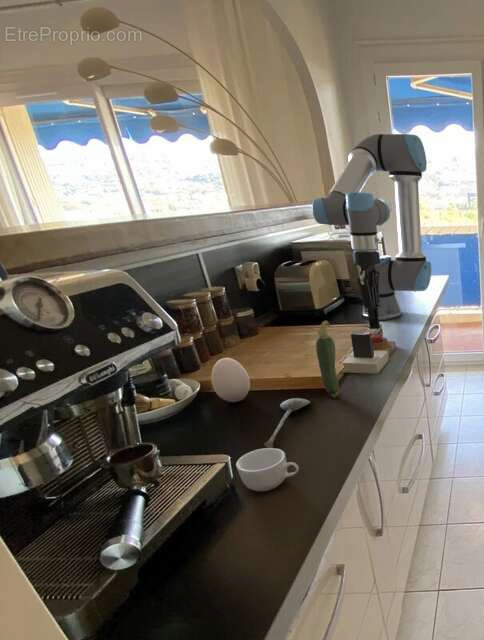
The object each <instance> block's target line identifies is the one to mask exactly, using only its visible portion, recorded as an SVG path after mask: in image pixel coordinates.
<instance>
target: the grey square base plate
mask: <svg viewBox="0 0 484 640" xmlns="http://www.w3.org/2000/svg"><path fill="white" fill-rule="evenodd" d="M347 355H348V354H347ZM389 357H390V356H388V351H374V356H373V357H372V358H363V357H354V353H353V352H352V353H351V354H350V355H348V357H347V358H346V359H345V360H344V361H343V362H342V363H343V365H344V369H342V370H341V371H340V370H339V371H340V373H349V374H353V373H355V374H379V373H380V371H382V369H383V368H384V367H385V366H386V364H387V363H388V362H389V361H390V358H389Z"/></svg>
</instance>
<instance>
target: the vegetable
mask: <svg viewBox="0 0 484 640" xmlns="http://www.w3.org/2000/svg"><path fill="white" fill-rule="evenodd" d="M327 326H328V327H330V323H329V321H328V320H324V321H323V322H321V323H320V326H319V329H318V330H319V331H318V338H317V339H316V342H315V351H316V356H317V361H318V367H319V371H320V376H321V381H322V384H323V387H324V390H325V391H326V392H327V394H329V395H331V397H333V398H334V399H336V397H338V395H339V394H340V384H339V380H338V379H339V378H338V375H337V372H336V344H335V341H334V339H333V337H331V336H329V335H328V334H329V333H328V329H327Z"/></svg>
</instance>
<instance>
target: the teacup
mask: <svg viewBox="0 0 484 640" xmlns="http://www.w3.org/2000/svg"><path fill="white" fill-rule="evenodd" d="M235 466H236V467H235V468H236V470H237V473H238V474H239V477H240V480H241V482H242V483H243V484H244V486H245V487H246V488H247V489H249V490H251V491H255V492H268V491H270V490H271V491H272V490H274V489H276V488H277V487H279V486H280V485H281V484H282V483H283V482H284V480H285V479H287V478H290V477H293V476H295V475H296V474H298V473H299V471H300V468H299V465H298V464H297V463H296V462H293V461H288V462H287V457H286V453H285V451H284V450H282V449H281V448H276V447H273V448H267V447H265V448H258V449H254V450H252V451H248V452H247V453H244V454H243V455H242V456H241V457H239V458H238V460H237V461H236V463H235ZM290 466H293V467H294V468H295V471H293V472H288V467H290Z"/></svg>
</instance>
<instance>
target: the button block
mask: <svg viewBox="0 0 484 640" xmlns="http://www.w3.org/2000/svg"><path fill="white" fill-rule="evenodd" d="M396 348H397V345H396V340H389V339H388V338H387V337H384V336H383V342H379V343H373V349H374V351H388V357H390V355H391V354H392V353H393V352H394V351H395V349H396Z"/></svg>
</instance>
